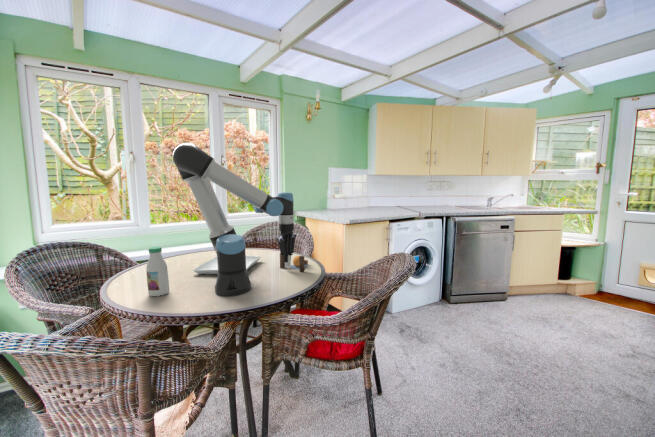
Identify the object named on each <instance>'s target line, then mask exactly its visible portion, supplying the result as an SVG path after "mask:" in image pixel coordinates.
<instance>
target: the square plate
mask: <svg viewBox="0 0 655 437" xmlns="http://www.w3.org/2000/svg"><path fill="white" fill-rule="evenodd" d="M261 258H262V256H256V255H255V256H254V255H253V256H252V255H251V256H250V255H246V271H248V270H249V269H250V268H251V267H252V266H254V265H255V264H256V263H257V262H259V260H260V259H261ZM192 271H193V273H196V274H199V275H200V274H201V275H218V261H217V256H215V257H214V258H211V259H209V260H208V261H205V262H204V263H202V264H200V265H199V266H197V267H195V268H193V269H192Z"/></svg>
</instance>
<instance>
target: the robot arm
mask: <svg viewBox="0 0 655 437" xmlns="http://www.w3.org/2000/svg"><path fill="white" fill-rule="evenodd" d="M172 160H173V163H174V165H175V167H176V169H177V171H178V173H179V175H180V178H181V179H182V181H183V182H186V183H188V187H189V189H190V190H191V191H192V192H191V193H192V195H193V197H194V198H195V202H196V203H197V206H198V207H199V210H200V212H201V214H202V217H203V218H204V221H205V223H206V226H207V227H208V229H209V236H208V238H209V241H210V243H211V245H212V247H213V249H214V252H215V254H216V257H217V261H218V274H217V278H216V282H215V285H214V293H215V294H217V295H218V296H221V297H233V296H239V295H243V294H245V293H248V292H250V290H251V289H252V282H251V279H250V277H249V274H248V272H247V271H248V270H247V271H246V256H247V255H246V241H245V237H243V235H240V234H237V233H236V230H235V228H234V226H232V225H231V224H229V222H228V220H227V218H226V215H225V212H224V210H223V209H222V207H221V204H220V202H219V199H218V196H217V195H216V192H215V190H214V188H213V186H212V183H213V184H215V185H217V186H219V187H220V188H222V189H224V190H225V191H227V192H229V193H231V194H232V195H233V196H237V197H238V198H239V199H241V200H243V201H245V202H247V203H248V204H250V205H251V206H253V209H254V213H255V214H267V215H268V216H270V217H278V223H279V224H278V230H279V231H280V235H279V237H278V238H276V241H277V243H278V246H279V247H278V248H279V250H280V251H279V253H281V255H282V256H284V262H285V268H284V269H292V268H291V266H292V265H291V261H292V257H291V256H293V254H294V251H295V242H296V237H297V234H296V233H295V234H294V232H293V231H294V230H295V224H294V221H295V219H294V218H295V217H294V216H295V215H294V214H295V212H294V211H295V210H294V195H293V193H292V192H290V191H289V192H288V191H287V192H279V193H277V196H272V195H269V194H268V193H266V192H265V191H263V190H262V189H261V188H258V187H256V186H255V185H253V184H251V183H250V182H248V181H247V180H245V179H244V178H242V177H240V176H239V175H237V174H235V173H234V172H232V171H231V170H229V169H227V168H225V167H224V166H222V165H221V164H219V163H218V162H216V161H215V158H214V157H212V156H211V155H209V154H208V153H206V152H205V151H203V150H202V149H201V148H200V147H198V145H196V144H193V143H189V142H186V143H181V144H178V145H177V147H175V148H174V150H173V152H172ZM211 182H212V183H211Z"/></svg>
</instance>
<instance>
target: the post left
mask: <svg viewBox="0 0 655 437" xmlns="http://www.w3.org/2000/svg"><path fill="white" fill-rule="evenodd" d="M279 268H280V269H286V268H285V262H284V256H282V255H281V252H279Z"/></svg>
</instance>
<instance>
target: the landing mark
mask: <svg viewBox="0 0 655 437" xmlns="http://www.w3.org/2000/svg"><path fill="white" fill-rule="evenodd" d="M308 266H309V264H308V265H304V267H305V268H307V267H308ZM290 269H293V270H299V271H300V269H299V267H296V266H295V265H294V264H292V265H291V268H290Z"/></svg>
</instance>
